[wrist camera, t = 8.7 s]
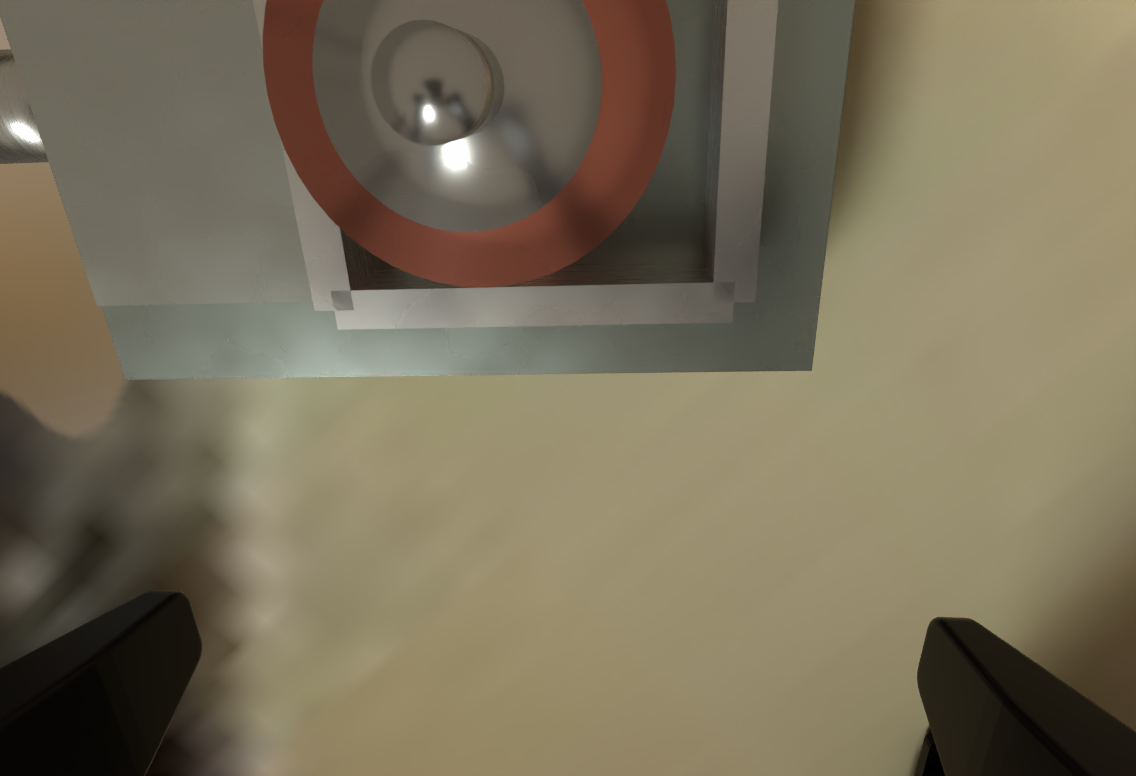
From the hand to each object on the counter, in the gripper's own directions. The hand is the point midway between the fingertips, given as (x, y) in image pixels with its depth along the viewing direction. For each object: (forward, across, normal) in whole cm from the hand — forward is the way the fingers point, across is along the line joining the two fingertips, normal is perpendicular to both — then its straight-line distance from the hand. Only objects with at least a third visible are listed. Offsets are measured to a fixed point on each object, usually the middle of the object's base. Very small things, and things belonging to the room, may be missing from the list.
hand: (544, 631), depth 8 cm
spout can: (+8, +1, -6) cm, 10 cm away
